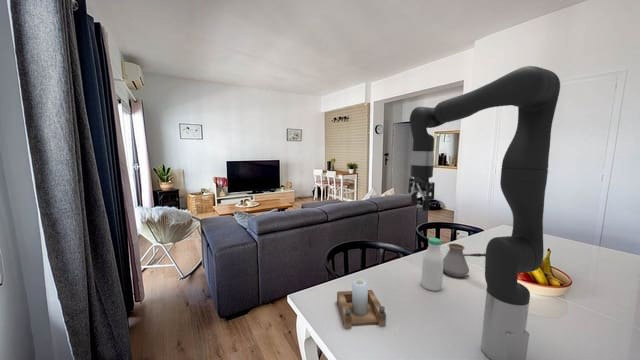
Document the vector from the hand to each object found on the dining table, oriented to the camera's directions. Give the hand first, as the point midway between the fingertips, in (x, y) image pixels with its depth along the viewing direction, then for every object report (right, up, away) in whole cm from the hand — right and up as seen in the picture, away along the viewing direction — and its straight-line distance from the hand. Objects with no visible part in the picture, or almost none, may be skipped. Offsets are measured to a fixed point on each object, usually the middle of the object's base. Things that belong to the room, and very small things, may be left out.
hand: (419, 207), depth 95 cm
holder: (-23, -35, -7) cm, 43 cm away
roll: (-23, -34, -8) cm, 42 cm away
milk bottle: (+9, -33, +10) cm, 36 cm away
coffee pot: (+26, -33, +17) cm, 45 cm away
